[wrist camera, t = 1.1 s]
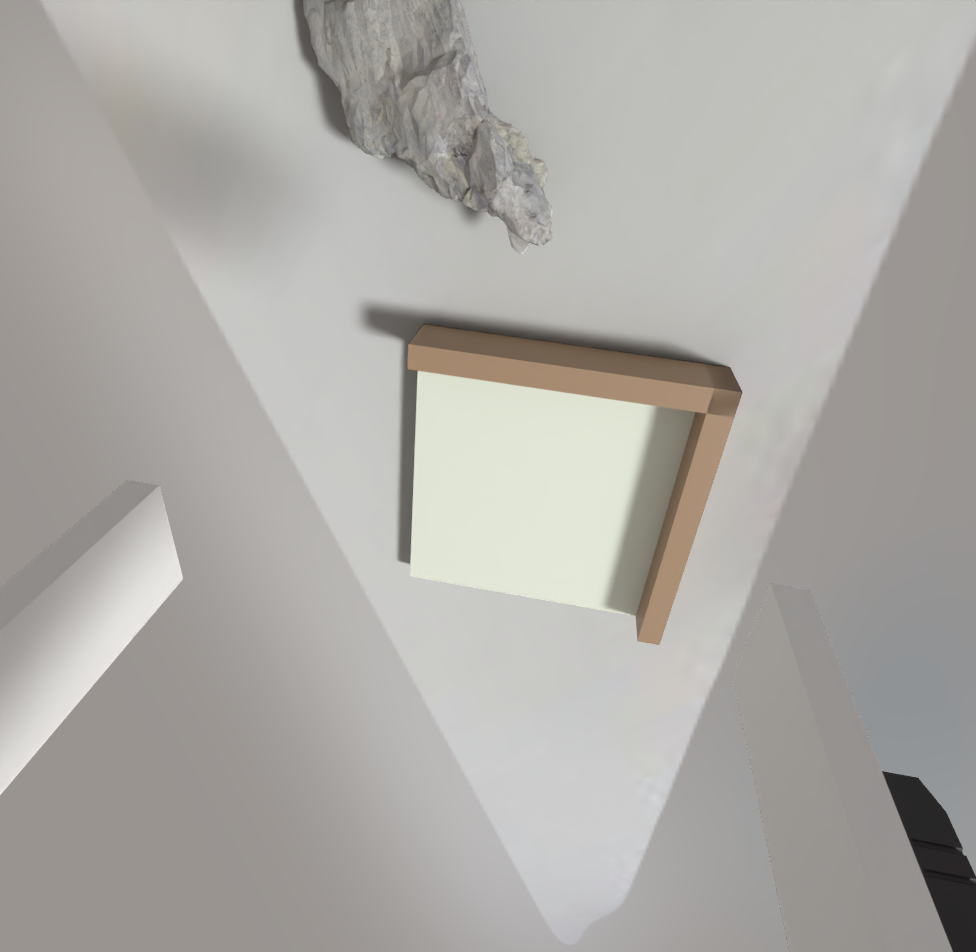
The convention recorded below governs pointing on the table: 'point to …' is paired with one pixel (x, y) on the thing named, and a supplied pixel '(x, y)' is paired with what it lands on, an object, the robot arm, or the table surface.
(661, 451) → the corner
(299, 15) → the table surface
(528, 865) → the table surface
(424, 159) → the stone
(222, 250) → the table surface
